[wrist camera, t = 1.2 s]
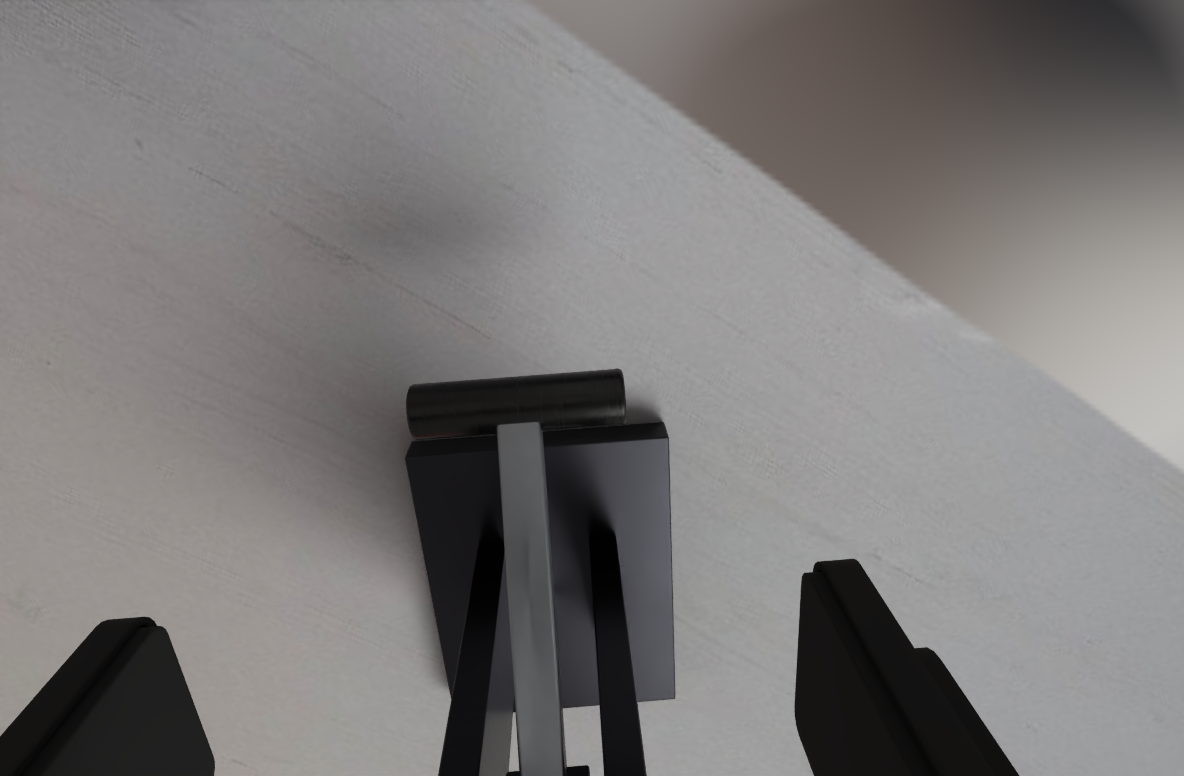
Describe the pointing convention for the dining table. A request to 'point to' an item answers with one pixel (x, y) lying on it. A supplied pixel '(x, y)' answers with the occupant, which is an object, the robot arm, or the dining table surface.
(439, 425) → the lever
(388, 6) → the dining table surface
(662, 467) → the bracket
